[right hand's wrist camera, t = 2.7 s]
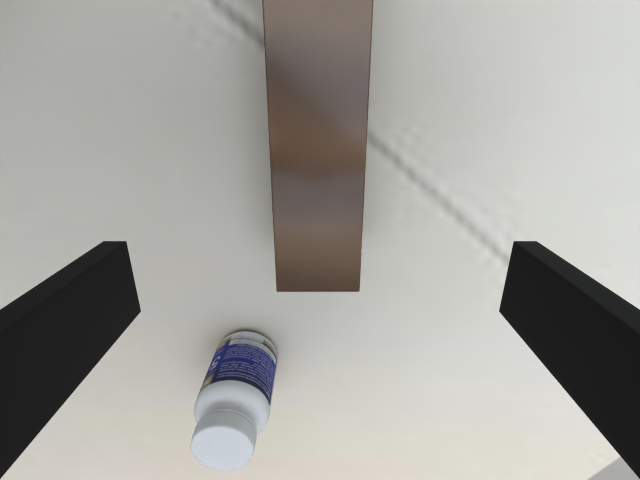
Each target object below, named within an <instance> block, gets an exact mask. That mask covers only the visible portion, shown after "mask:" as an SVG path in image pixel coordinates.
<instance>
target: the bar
mask: <svg viewBox="0 0 640 480" xmlns="http://www.w3.org/2000/svg"><path fill="white" fill-rule="evenodd" d="M372 16H373V0H263V21H264V41H265V62H266V83H267V103H268V124H269V144H270V165H271V185H272V206H273V226H274V247H275V267H276V288H277V292H359V291H360V270H361V249H362V228H363V207H364V186H365V164H366V143H367V122H368V101H369V80H370V59H371V38H372Z"/></svg>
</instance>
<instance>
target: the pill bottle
mask: <svg viewBox="0 0 640 480" xmlns="http://www.w3.org/2000/svg"><path fill="white" fill-rule="evenodd" d="M277 363H278V354H277V351H276V348H275V347H274V345H273V344H272V343H271V341H269V340H268V339H267V338H266V337H264V336H262V335H260V334H258V333H254V332H249V331H241V332H236V333H233V334H230V335H229V336H227V337H225V338H224V339H223V340H222V341H221V342H220V344H219V345H218V347H217V350H216V352H215V355H214V357H213V360H212V362H211V364H210V367H209V369H208V372H207V374H206V377H205V379H204V382H203V384H202V387H201V389H200V392H199V394H198V397H197V400H196V403H195V408H194V415H195V419H196V422H197V425H196V428H195V431H194V434H193V437H192V440H191V452H192V454H193V456H194V457H195V459H196V460H197V461H198V462H199V463H201V464H202V465H204V466H206V467H208V468H211V469H214V470H220V471H229V470H235V469H238V468H241V467H243V466H244V465H246V464H247V463H248V462H249V461H250V459H251V458H252V455H253V452H254V448H255V443H256V436H257V435H258V434H259V433H260V432H261V431H262V430H263V429H264V427H265V426H266V424H267V422H268V419H269V414H270V407H271V400H272V393H273V387H274V380H275V374H276V369H277Z"/></svg>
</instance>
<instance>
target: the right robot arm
mask: <svg viewBox="0 0 640 480" xmlns="http://www.w3.org/2000/svg"><path fill="white" fill-rule="evenodd" d="M140 312H141V310H140V305H139V300H138V295H137V291H136V286H135V281H134V276H133V272H132V267H131V262H130V257H129V252H128V248H127V243H126V241H103V242H102V243H100V244H99V245H97V246H96V247H94V248H93V249H91V250H90V251H88V252H87V253H85V254H84V255H82V256H81V257H79V258H78V259H76V260H75V261H73V262H72V263H70V264H69V265H67V266H66V267H64V268H63V269H61V270H60V271H58V272H57V273H55V274H54V275H52V276H51V277H49V278H47V279H46V280H44V281H43V282H41V283H40V284H38V285H37V286H35V287H34V288H32V289H31V290H29V291H28V292H26V293H25V294H23V295H22V296H20V297H19V298H17V299H16V300H14V301H13V302H11V303H10V304H8V305H7V306H5V307H4V308H2V309H1V310H0V479H1V477H2V476H3V475H4V474H5V473H6V471H7V470H8V469H9V468H10V467H11V465H12V464H13V463H14V462H15V461H16V459H17V458H18V457H19V456H20V455H21V454H22V452H23V451H24V450H25V449H26V448H27V446H28V445H29V444H30V443H31V442H32V440H33V439H34V438H35V437H36V436H37V434H38V433H39V432H40V431H41V430H42V429H43V427H44V426H45V425H46V424H47V423H48V421H49V420H50V419H51V418H52V417H53V415H54V414H55V413H56V412H57V411H58V409H59V408H60V407H61V406H62V405H63V403H64V402H65V401H66V400H67V399H68V398H69V396H70V395H71V394H72V393H73V392H74V390H75V389H76V388H77V387H78V386H79V384H80V383H81V382H82V381H83V380H84V378H85V377H86V376H87V375H88V374H89V372H90V371H91V370H92V369H93V368H94V367H95V365H96V364H97V363H98V362H99V361H100V359H101V358H102V357H103V356H104V355H105V353H106V352H107V351H108V350H109V349H110V347H111V346H112V345H113V344H114V343H115V342H116V340H117V339H118V338H119V337H120V336H121V334H122V333H123V332H124V331H125V330H126V328H127V327H128V326H129V325H130V324H131V322H132V321H133V320H134V319H135V318H136V316H137V315H138V314H139V313H140ZM499 312H500V313H501V314H502V315H503V316H504V318H505V319H506V320H507V321H508V322H509V324H510V325H511V326H512V327H513V328H514V330H515V331H516V332H517V333H518V334H519V336H520V337H521V338H522V339H523V340H524V342H525V343H526V344H527V345H528V346H529V347H530V349H531V350H532V351H533V352H534V353H535V355H536V356H537V357H538V358H539V359H540V361H541V362H542V363H543V364H544V365H545V367H546V368H547V369H548V370H549V371H550V372H551V374H552V375H553V376H554V377H555V378H556V380H557V381H558V382H559V383H560V384H561V386H562V387H563V388H564V389H565V390H566V392H567V393H568V394H569V395H570V396H571V398H572V399H573V400H574V401H575V402H576V403H577V405H578V406H579V407H580V408H581V409H582V411H583V412H584V413H585V414H586V415H587V417H588V418H589V419H590V420H591V421H592V423H593V424H594V425H595V426H596V427H597V429H598V430H599V431H600V432H601V433H602V434H603V436H604V437H605V438H606V439H607V440H608V442H609V443H610V444H611V445H612V446H613V448H614V449H615V450H616V451H617V452H618V454H619V455H620V456H621V457H622V458H623V459H624V461H625V462H626V463H627V464H628V465H629V467H630V468H631V469H632V470H633V471H634V473H635V474H636V475H637V476H638V477H639V478H640V310H639V309H638V308H636V307H635V306H633V305H632V304H630V303H629V302H627V301H626V300H624V299H623V298H621V297H620V296H618V295H617V294H615V293H614V292H612V291H611V290H609V289H608V288H606V287H605V286H603V285H602V284H600V283H599V282H597V281H596V280H594V279H593V278H591V277H589V276H588V275H586V274H585V273H583V272H582V271H580V270H579V269H577V268H576V267H574V266H573V265H571V264H570V263H568V262H567V261H565V260H564V259H562V258H561V257H559V256H558V255H556V254H555V253H553V252H552V251H550V250H549V249H547V248H546V247H544V246H543V245H541V244H540V243H538V242H537V241H514V243H513V248H512V252H511V257H510V262H509V267H508V272H507V276H506V281H505V286H504V291H503V295H502V300H501V305H500V310H499Z"/></svg>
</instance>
